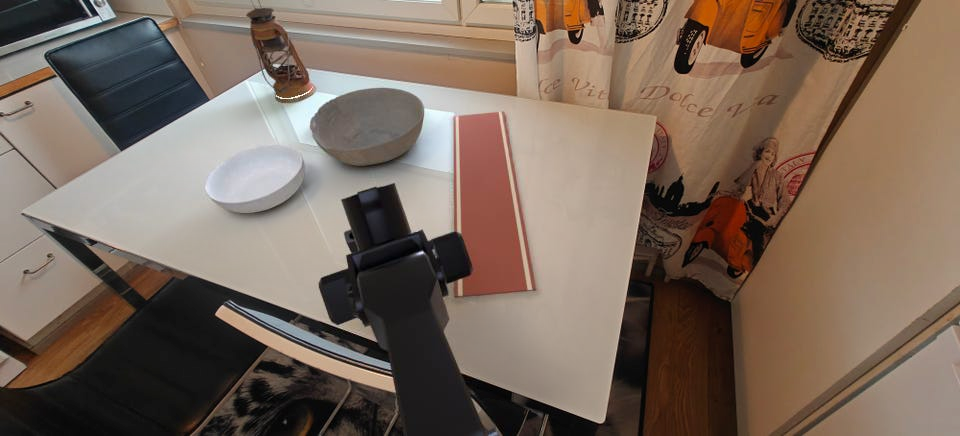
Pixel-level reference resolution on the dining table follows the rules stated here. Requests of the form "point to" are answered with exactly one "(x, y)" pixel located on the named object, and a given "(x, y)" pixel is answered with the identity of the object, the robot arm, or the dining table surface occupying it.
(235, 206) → the serving bowl
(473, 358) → the dining table surface
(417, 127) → the bowl
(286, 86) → the lantern
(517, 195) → the red table runner
